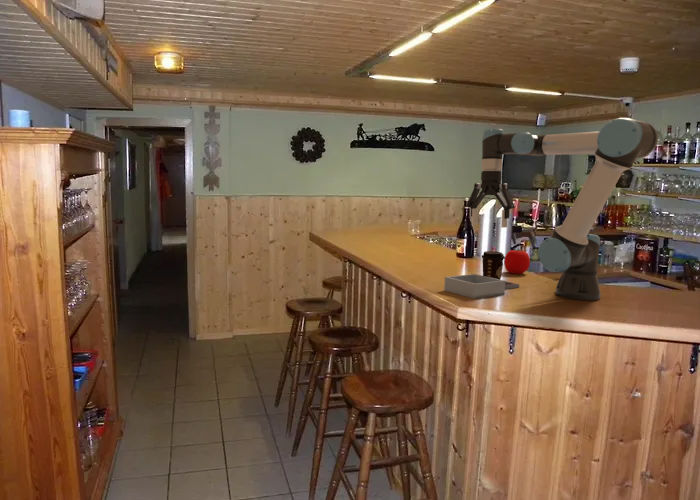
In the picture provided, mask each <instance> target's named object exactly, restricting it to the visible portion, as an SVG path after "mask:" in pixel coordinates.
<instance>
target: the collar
mask: <svg viewBox="0 0 700 500" xmlns="http://www.w3.org/2000/svg"><path fill="white" fill-rule="evenodd" d="M504 281H505V290H510V289H511V290H512V289H517V288H520V284H519V283H514V282H511V281H510V282H509V281H506V280H504Z"/></svg>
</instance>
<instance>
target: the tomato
mask: <svg viewBox="0 0 700 500" xmlns="http://www.w3.org/2000/svg"><path fill="white" fill-rule="evenodd" d="M504 257H505V259H503V261H504V262H503V265H504V267H505V270H506V271H507V272H508V273H509V274H512V275H513V274H514V275H519V274H520V275H521V274H524V273H525V272H527V271H528V270H529V268H530V264H531V258H530V255H529V253H528V252H527V251H524V250H521V249H519V248H518V249H512V250H508V251H507V253H506V255H505V256H504Z"/></svg>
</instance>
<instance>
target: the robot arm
mask: <svg viewBox="0 0 700 500" xmlns="http://www.w3.org/2000/svg"><path fill="white" fill-rule="evenodd" d="M658 140H659V135H658V132H657V130H656V128H655V127H654V126H653V125H652V124H650V123H648V122H647V121H643V120H639V119H638V120H636V119H632V118H630V117H619V118H615V119H611V120H610V121H608V122H607V123H605V124H604V125H603V126H602V127H601V128H600V130H599V131H587V132H572V133H571V132H569V133H556V134H538V135H537V134H536V135H535V134H531V133H530V132H527V131H525V132H523V131H520V132H514V133H504V129H502V128H487V129H484V130H483V134H482V140H481V143H482V147H481V148H482V149H481V156H482V157H481V165H480V166H481V170H482V171H481V172H480V173H481V174H480V181H481V183H479V182H478V183H477V182H475V183H474V185H473V190H472V192H471V194H470V197H469V199H468V201H467V203H466V207H469V208H470V217H471V226H478V225H479V223H478V222H479V208H478V206H479V205H480V204H481V202H483V199H484V198H485V197H486V196H494V197H495V198H496V199H497V201H498V202H499V204H500V205H501V207H502V208H503V209H502V210H501V225H500V227H501V228H504V229H505V228H508V221H509V220H508V219H510V214H511V213H510V211H511V210H512V209H515V207H516V206H515V203H514V201H513V198H512V195H511V192H510V191H509V183H501V182H502V173H503V172H502V171H501V170H502V167H503V155H521V156H522V155H525V156H527V155H528V156H534V157H541V156H558V155H559V156H560V155H561V156H562V155H594V157H595V159H596V161H595V162H594V164H593V166H592V168H591V170H590V172H589V173H588V176H587V177H586V180H585V182H584V183H583V185H582V187H581V189H580V191H579V192H578V195H577V196H576V197H575V201H574V202H573V204H572V206H571V207H570V209H569V211H568V213H567V214H566V217H565V219H564V220H563V222H562V224H561V225H558V226H555V228H554V229H553V231H552V233H551V235H550V237H549V238H546V239H544V240H542V241H541V243H540V244H539V246H538V250H537V256H538V259H539V262H540V263H541V265H542V267H543V268H545V270H548V271H550V272H555V273H556V272H557V273H561V275H560V278H559V280H558V282H557V285H556V286H555V291H554V293H555V294H556V295H557V296H559V297H561V298H565V299H569V300H577V301H578V300H579V301H597V300H600V299H601V293H602V291H601V289H600V284H599V281H598V267H599V259H600V258H599V256H600V247H601V238H600V236H599V235H597V234H594V233H593V234H591V233H589V232H591V229H592V227H593V226H594V224H595V222H596V220H597V218H598V217H599V215H600V213H601V211H602V210H603V208H604V206H605V204H606V203H607V201H608V199H609V198H610V196H611V193H613V190H614V189H615V187H616V184H617V183H618V181H619V179H620V178H621V176H622V174H623V173H624V172H625V171H628V170H630V169H632V167H633V165H634V163H635V162H636V160H637V159H641V158H643V157H646V156H648V155H650V154H651V153H652V152H653V151H654V150H655V148H656V147H657V145H658ZM500 189H501V190H500ZM480 190H481V191H480Z"/></svg>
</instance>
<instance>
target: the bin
mask: <svg viewBox="0 0 700 500" xmlns="http://www.w3.org/2000/svg"><path fill="white" fill-rule="evenodd" d="M505 281H506V280H503V279H495V278H490V277H486V276H483V275H480V274H476V273H470V274H469V273H468V274H460V275H452V276H445V277H444V285H443V286H444V288H443V290H444V292H449V293H453V294H456V295H459V296H463V297H465V298H466V297H467V298H470V299H474V300H475V299H476V300H477V299H482V298H490V297H496V296H504V295H505V292H506V291H505V290H506V289H505Z"/></svg>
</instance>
